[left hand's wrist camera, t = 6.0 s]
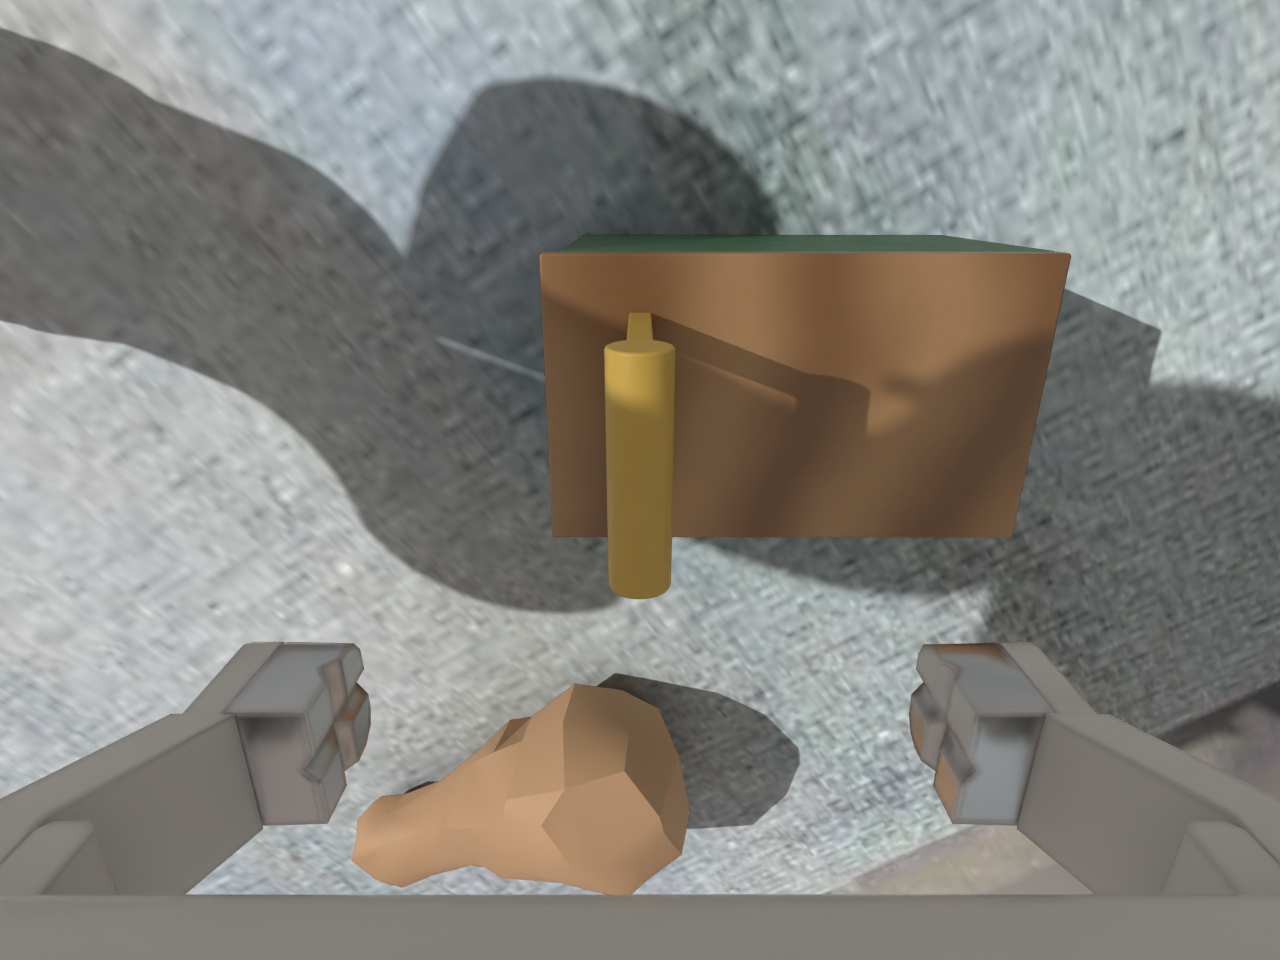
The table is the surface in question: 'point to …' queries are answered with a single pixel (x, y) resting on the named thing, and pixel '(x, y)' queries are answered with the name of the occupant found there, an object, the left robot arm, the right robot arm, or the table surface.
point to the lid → (790, 395)
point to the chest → (789, 243)
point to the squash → (544, 802)
